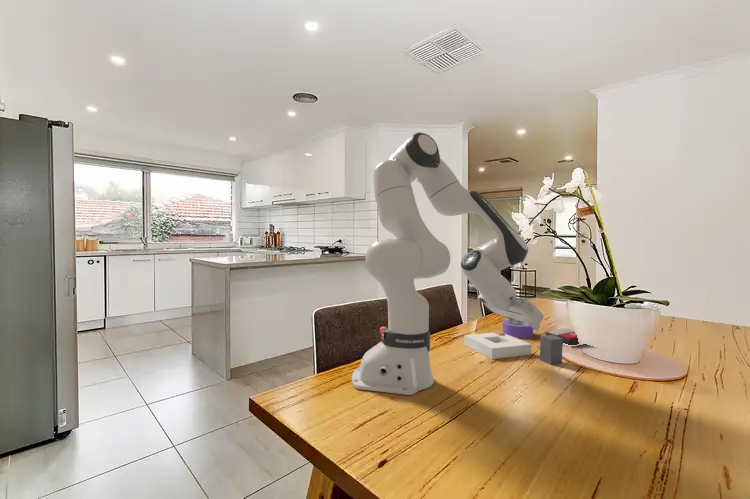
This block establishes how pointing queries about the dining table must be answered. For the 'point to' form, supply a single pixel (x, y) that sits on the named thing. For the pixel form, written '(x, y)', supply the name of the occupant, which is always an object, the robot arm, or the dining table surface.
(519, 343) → the socket
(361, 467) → the dining table surface
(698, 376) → the dining table surface
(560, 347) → the plug
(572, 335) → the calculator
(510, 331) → the tape roll
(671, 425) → the dining table surface
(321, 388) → the dining table surface
